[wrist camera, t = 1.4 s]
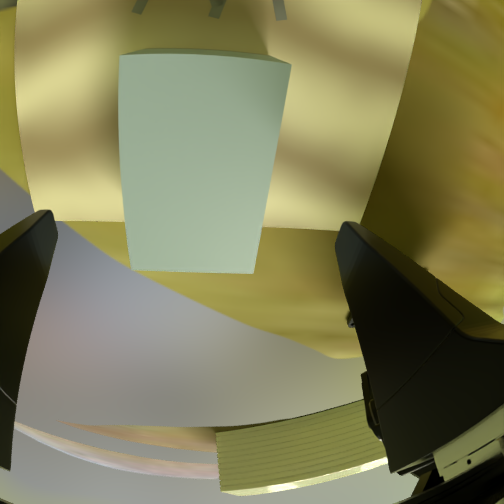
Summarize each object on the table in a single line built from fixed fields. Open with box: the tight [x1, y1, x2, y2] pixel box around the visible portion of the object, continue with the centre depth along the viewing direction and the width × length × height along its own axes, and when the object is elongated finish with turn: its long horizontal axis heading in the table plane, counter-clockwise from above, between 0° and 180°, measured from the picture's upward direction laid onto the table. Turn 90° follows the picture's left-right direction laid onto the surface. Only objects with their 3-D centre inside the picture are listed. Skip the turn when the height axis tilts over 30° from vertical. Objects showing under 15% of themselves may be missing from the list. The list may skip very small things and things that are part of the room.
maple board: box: [15, 0, 422, 231], centre depth 11 cm, size 22×20×2 cm
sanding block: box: [118, 48, 292, 274], centre depth 13 cm, size 9×6×4 cm, turn 172°
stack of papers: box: [216, 399, 388, 496], centre depth 43 cm, size 32×11×11 cm, turn 104°
